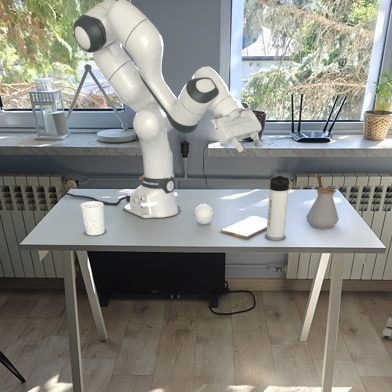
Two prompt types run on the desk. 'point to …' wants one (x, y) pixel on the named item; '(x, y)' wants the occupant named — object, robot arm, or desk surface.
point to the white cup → (93, 217)
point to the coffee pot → (323, 208)
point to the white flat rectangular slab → (247, 227)
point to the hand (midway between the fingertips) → (250, 148)
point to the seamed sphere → (203, 214)
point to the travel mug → (277, 208)
